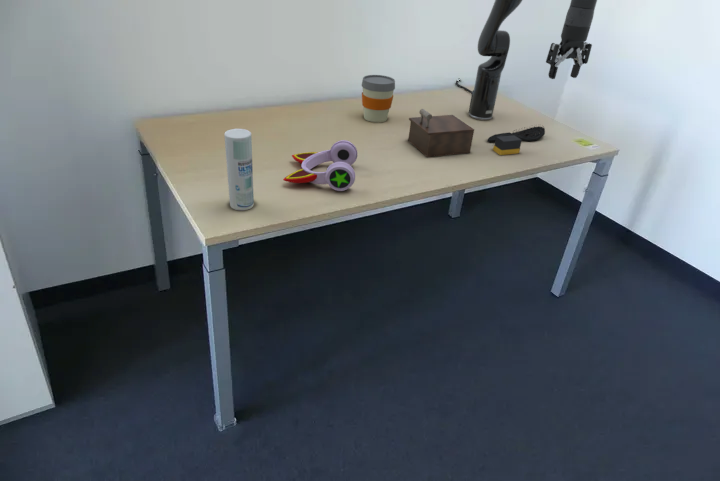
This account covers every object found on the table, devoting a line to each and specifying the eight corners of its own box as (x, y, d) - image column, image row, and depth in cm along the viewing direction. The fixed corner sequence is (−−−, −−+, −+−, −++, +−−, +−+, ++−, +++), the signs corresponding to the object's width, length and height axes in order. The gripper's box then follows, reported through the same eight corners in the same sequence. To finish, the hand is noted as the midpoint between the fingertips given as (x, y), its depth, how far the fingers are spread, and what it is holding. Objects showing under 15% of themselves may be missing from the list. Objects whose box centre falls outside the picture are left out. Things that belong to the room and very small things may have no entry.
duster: (499, 155, 182) (503, 141, 179) (492, 150, 185) (495, 136, 183) (519, 153, 185) (522, 139, 182) (511, 148, 188) (514, 135, 186)
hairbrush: (482, 130, 193) (536, 121, 202) (480, 139, 195) (534, 130, 204) (496, 139, 187) (551, 129, 196) (494, 148, 189) (549, 138, 198)
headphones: (357, 168, 146) (285, 154, 145) (351, 199, 151) (281, 185, 150) (360, 141, 163) (295, 128, 161) (353, 170, 168) (291, 157, 166)
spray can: (239, 213, 136) (235, 140, 126) (224, 204, 140) (218, 132, 129) (259, 205, 141) (256, 134, 130) (244, 196, 144) (240, 126, 134)
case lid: (428, 135, 172) (430, 119, 169) (408, 119, 183) (410, 104, 180) (474, 131, 178) (477, 116, 175) (452, 116, 189) (454, 102, 186)
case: (427, 157, 176) (430, 135, 172) (408, 140, 187) (410, 119, 183) (469, 153, 182) (474, 131, 178) (448, 137, 193) (452, 116, 189)
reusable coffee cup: (374, 126, 197) (378, 86, 189) (352, 116, 205) (355, 77, 197) (398, 120, 205) (402, 81, 197) (376, 110, 212) (379, 73, 204)
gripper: (587, 20, 162) (572, 73, 171) (550, 20, 157) (536, 75, 166) (605, 25, 157) (588, 80, 165) (567, 25, 152) (551, 82, 160)
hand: (562, 77), depth 166 cm, fingers open, 8 cm apart
